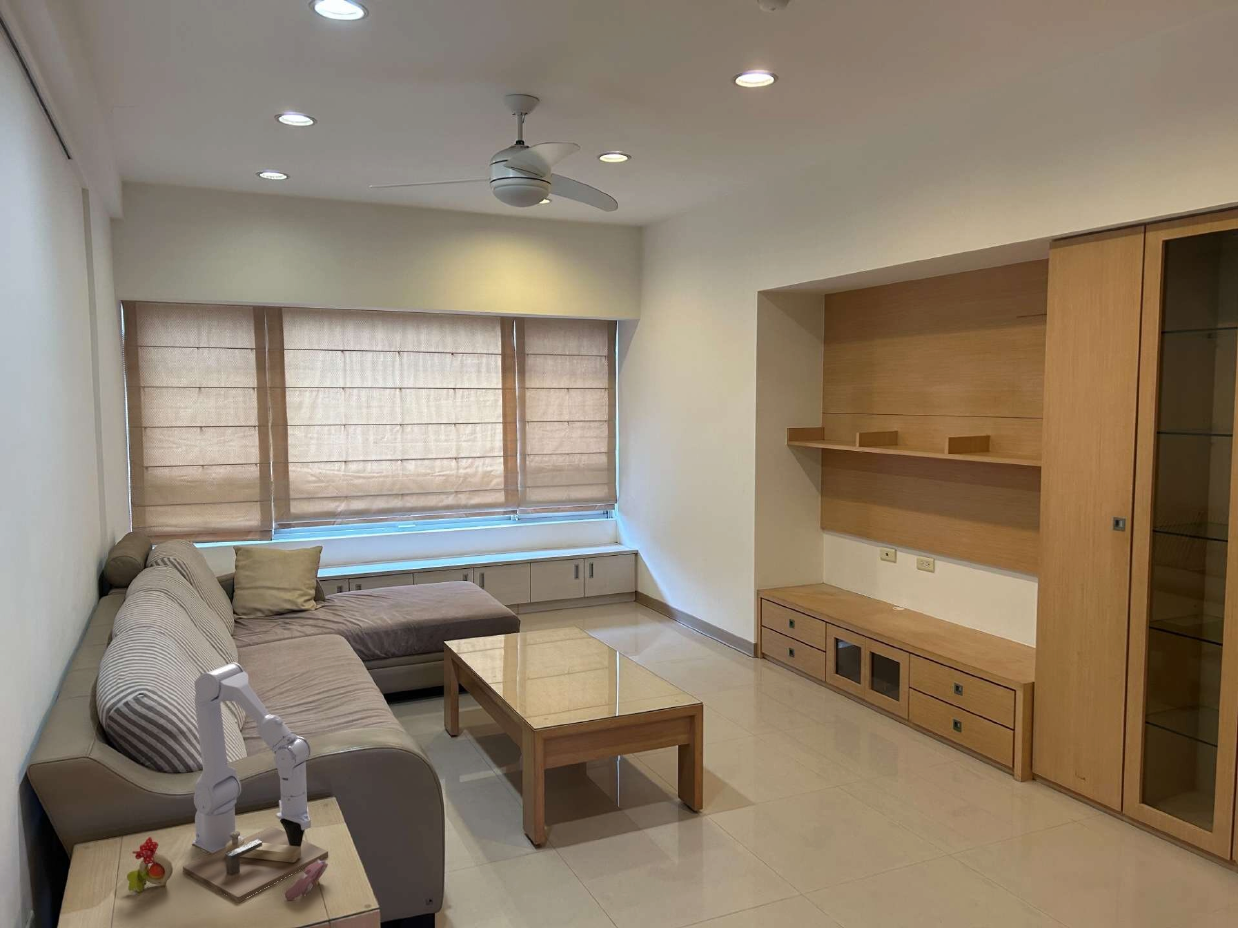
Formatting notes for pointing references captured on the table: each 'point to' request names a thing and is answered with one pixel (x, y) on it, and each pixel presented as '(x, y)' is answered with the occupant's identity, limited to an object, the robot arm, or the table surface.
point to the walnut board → (252, 867)
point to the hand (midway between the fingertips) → (295, 847)
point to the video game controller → (306, 880)
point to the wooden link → (265, 850)
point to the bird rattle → (156, 872)
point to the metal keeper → (234, 855)
